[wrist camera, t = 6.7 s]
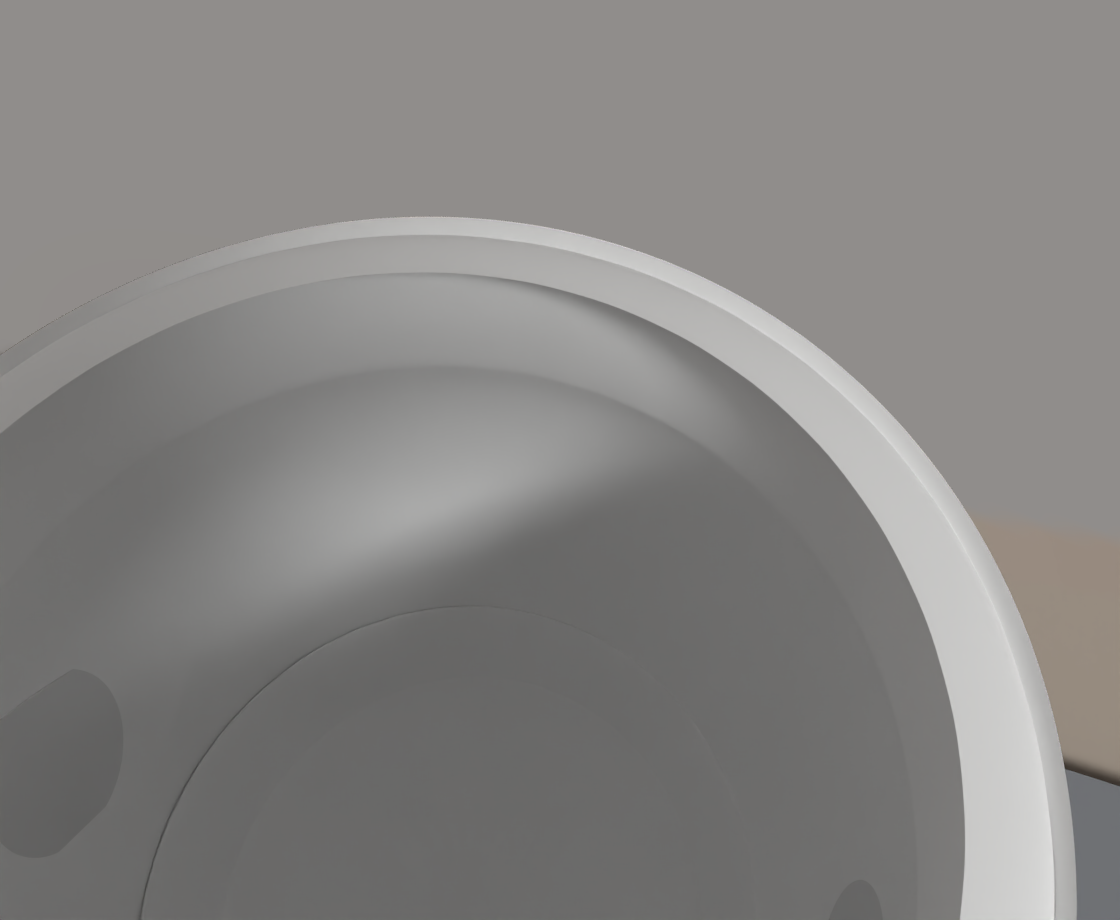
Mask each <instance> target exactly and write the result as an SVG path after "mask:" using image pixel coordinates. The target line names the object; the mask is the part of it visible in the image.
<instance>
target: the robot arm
mask: <svg viewBox="0 0 1120 920" xmlns="http://www.w3.org/2000/svg"><path fill="white" fill-rule="evenodd" d="M122 755H123V726H122V720H121V715H120V711H119V708H118V705H117V702H116V700H115V698H114V696H113V694H112V693H111V691H110V690H109V688H108V687H107V686H106V685H105V683H104V682H103V681H101V680H100V679H99V678H98V677H96V676H95V675H93V674H91V673H89V672H86V671H83V670H78V669H72V670H70V671H69V672H67V673H65V674H64V675H62V676H60V677H59V678H57V679H56V680H54V681H52V682H51V683H49V684H48V685H46V686H45V687H43V688H42V689H40V690H39V691H37V692H36V693H34V694H33V695H32V696H30V697H29V698H27V699H26V700H25V701H23V702H22V703H21V704H19V705H18V706H16V707H15V708H14V709H13V710H11V711H10V712H9V713H7V714H6V715H5V716H4V717H2V718H1V719H0V842H1V844H2V845H4V846H5V847H6V848H7V849H8V850H10V851H11V852H13V853H15V854H17V855H20V856H23V857H28V858H41V857H47V856H50V855H53V854H56V853H58V852H59V851H60V850H61V849H63V848H64V847H65V846H66V845H67V844H68V843H69V842H70V841H71V840H72V839H73V838H74V837H75V836H76V835H77V834H78V833H79V832H80V831H81V830H82V829H83V828H84V827H85V826H86V825H87V824H88V823H89V822H90V821H91V820H92V819H94V818H95V817H96V816H97V815H98V814H99V813H100V812H101V811H102V810H103V809H104V808H105V807H106V805H107V804H108V802H109V800H110V797H111V795H112V793H113V791H114V788H115V785H116V782H117V779H118V776H119V772H120V767H121V762H122ZM829 920H883V917H882V911H881V906H880V902H879V899H878V896H877V894H876V892H875V890H874V888H873V887H872V886H871V885H870V884H869V883H868V882H867V881H864V880H856V881H854V882H852V883H850V884H849V885H848V886H847V887H846V888H845V889H844V890H843V892H842V893H841V895H840V896H839V898H838V900H837V901H836V903H835V905H834V908H833V910H832V912H831V915H830V918H829Z"/></svg>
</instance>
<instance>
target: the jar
mask: <svg viewBox="0 0 1120 920" xmlns="http://www.w3.org/2000/svg"><path fill="white" fill-rule="evenodd" d="M72 669H78V670H83V671H86V672H89V673H91V674H93V675H95V676H96V677H98V678H99V679H100V680H101V681H103V682H104V683H105V685H106V686H107V687H108V688H109V690H110V691H111V693H112V694H113V696H114V698H115V700H116V702H117V705H118V708H119V711H120V715H121V720H122V726H123V755H122V762H121V767H120V772H119V776H118V779H117V782H116V785H115V788H114V791H113V793H112V795H111V797H110V800H109V802H108V804H107V805H106V807H105V808H104V809H103V810H102V811H101V812H100V813H99V814H98V815H97V816H96V817H95V818H94V819H92V820H91V821H90V822H89V823H88V824H87V825H86V826H85V827H84V828H83V829H82V830H81V831H80V832H79V833H78V834H77V835H76V836H75V837H74V838H73V839H72V840H71V841H70V842H69V843H68V844H67V845H66V846H65V847H64V848H63V849H61V850H60V851H59V852H58V853H56V854H53V855H50V856H47V857H41V858H28V857H23V856H20V855H17V854H15V853H13V852H11V851H10V850H8V849H7V848H6V847H5V846H4V845H2V844H1V842H0V920H829V918H830V915H831V912H832V910H833V908H834V905H835V903H836V901H837V900H838V898H839V896H840V895H841V893H842V892H843V890H844V889H845V888H846V887H847V886H848V885H849V884H850V883H852V882H854V881H856V880H864V881H867V882H868V883H869V884H870V885H871V886H872V887H873V888H874V890H875V892H876V894H877V896H878V899H879V902H880V906H881V911H882V917H883V920H1077V888H1076V862H1075V847H1074V835H1073V824H1072V815H1071V807H1070V799H1069V792H1068V786H1067V779H1066V773H1065V768H1064V762H1063V757H1062V752H1061V747H1060V742H1059V738H1058V733H1057V729H1056V724H1055V720H1054V716H1053V712H1052V709H1051V705H1050V701H1049V698H1048V694H1047V691H1046V687H1045V684H1044V680H1043V677H1042V674H1041V671H1040V668H1039V665H1038V662H1037V659H1036V656H1035V653H1034V650H1033V647H1032V645H1031V642H1030V639H1029V637H1028V634H1027V631H1026V629H1025V626H1024V624H1023V621H1022V619H1021V616H1020V614H1019V612H1018V609H1017V607H1016V605H1015V602H1014V600H1013V598H1012V595H1011V593H1010V591H1009V589H1008V587H1007V585H1006V583H1005V580H1004V578H1003V576H1002V574H1001V572H1000V570H999V568H998V566H997V564H996V562H995V561H994V559H993V557H992V555H991V553H990V551H989V549H988V547H987V546H986V544H985V542H984V540H983V539H982V537H981V535H980V533H979V532H978V530H977V528H976V527H975V525H974V523H973V522H972V520H971V518H970V517H969V515H968V513H967V512H966V510H965V509H964V507H963V506H962V504H961V503H960V501H959V500H958V498H957V497H956V495H955V494H954V492H953V491H952V489H951V488H950V486H949V485H948V484H947V482H946V481H945V479H944V478H943V477H942V475H941V474H940V472H939V471H938V470H937V468H936V467H935V466H934V464H933V463H932V462H931V461H930V459H929V458H928V457H927V455H926V454H925V453H924V452H923V450H922V449H921V448H920V447H919V446H918V444H917V443H916V442H915V441H914V440H913V438H912V437H911V436H910V435H909V434H908V433H907V431H906V430H905V429H904V428H903V427H902V426H901V425H900V424H899V422H898V421H897V420H896V419H895V418H894V417H893V416H892V415H891V414H890V413H889V412H888V411H887V410H886V408H885V407H884V406H883V405H882V404H880V402H879V401H878V400H877V399H876V398H875V397H873V395H872V394H871V393H870V392H868V391H867V390H866V389H865V388H864V387H863V386H862V385H861V384H860V383H859V382H858V381H857V380H856V379H855V378H853V377H852V376H851V375H850V374H849V373H848V372H847V371H845V370H844V369H843V368H842V367H841V366H840V365H838V364H837V363H836V362H835V361H834V360H832V359H831V358H830V357H829V356H828V355H826V354H825V353H824V352H823V351H821V350H820V349H819V348H817V347H816V346H815V345H814V344H812V343H811V342H810V341H808V340H807V339H805V338H804V337H803V336H801V335H800V334H799V333H797V332H796V331H794V330H793V329H792V328H790V327H789V326H787V325H786V324H784V323H783V322H781V321H780V320H778V319H777V318H775V317H774V316H772V315H770V314H769V313H767V312H766V311H764V310H762V309H761V308H759V307H758V306H756V305H754V304H752V303H751V302H749V301H747V300H746V299H744V298H742V297H740V296H738V295H737V294H735V293H733V292H731V291H729V290H727V289H725V288H724V287H722V286H720V285H718V284H716V283H714V282H711V281H710V280H707V279H705V278H703V277H701V276H699V275H697V274H695V273H693V272H690V271H688V270H686V269H683V268H681V267H679V266H676V265H674V264H671V263H669V262H666V261H664V260H661V259H659V258H656V257H653V256H651V255H648V254H645V253H642V252H639V251H637V250H634V249H631V248H627V247H624V246H620V245H618V244H614V243H611V242H608V241H604V240H600V239H597V238H593V237H589V236H585V235H581V234H577V233H572V232H568V231H563V230H558V229H553V228H548V227H542V226H536V225H530V224H523V223H516V222H508V221H499V220H489V219H478V218H461V217H396V218H380V219H367V220H356V221H347V222H339V223H332V224H325V225H319V226H313V227H307V228H301V229H296V230H291V231H286V232H281V233H277V234H272V235H268V236H264V237H259V238H256V239H251V240H247V241H244V242H240V243H237V244H233V245H230V246H226V247H223V248H219V249H216V250H213V251H210V252H207V253H204V254H201V255H198V256H195V257H192V258H189V259H186V260H183V261H181V262H178V263H175V264H172V265H170V266H167V267H165V268H162V269H160V270H157V271H155V272H152V273H150V274H147V275H145V276H143V277H140V278H138V279H136V280H133V281H131V282H129V283H127V284H125V285H122V286H120V287H118V288H116V289H114V290H112V291H110V292H108V293H105V294H103V295H102V296H99V297H97V298H96V299H94V300H91V301H89V302H88V303H86V304H84V305H82V306H80V307H78V308H76V309H74V310H72V311H71V312H69V313H67V314H65V315H64V316H62V317H60V318H58V319H56V320H55V321H53V322H52V323H50V324H48V325H46V326H44V327H43V328H41V329H39V330H38V331H36V332H35V333H33V334H31V335H30V336H28V337H27V338H25V339H23V340H22V341H20V342H19V343H17V344H16V345H14V346H13V347H11V348H10V349H8V350H7V351H5V352H4V353H2V354H1V355H0V719H1V718H2V717H4V716H5V715H6V714H7V713H9V712H10V711H11V710H13V709H14V708H15V707H16V706H18V705H19V704H21V703H22V702H23V701H25V700H26V699H27V698H29V697H30V696H32V695H33V694H34V693H36V692H37V691H39V690H40V689H42V688H43V687H45V686H46V685H48V684H49V683H51V682H52V681H54V680H56V679H57V678H59V677H60V676H62V675H64V674H65V673H67V672H69V671H70V670H72Z"/></svg>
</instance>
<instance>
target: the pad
mask: <svg viewBox="0 0 1120 920" xmlns="http://www.w3.org/2000/svg"><path fill="white" fill-rule="evenodd" d="M1065 773H1066V779H1067V786H1068V792H1069V799H1070V807H1071V815H1072V824H1073V835H1074V847H1075V862H1076V888H1077V920H1120V786H1117V785H1114V784H1111V783H1108V782H1104V781H1101V780H1098V779H1095V778H1092V777H1089V776H1086V775H1083V774H1079V773H1076V772H1073V771H1070V770H1067V769H1065Z"/></svg>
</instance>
